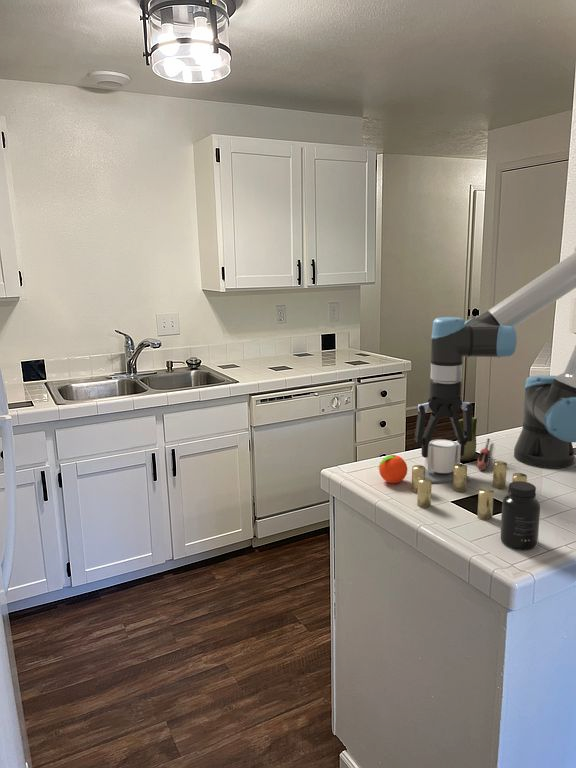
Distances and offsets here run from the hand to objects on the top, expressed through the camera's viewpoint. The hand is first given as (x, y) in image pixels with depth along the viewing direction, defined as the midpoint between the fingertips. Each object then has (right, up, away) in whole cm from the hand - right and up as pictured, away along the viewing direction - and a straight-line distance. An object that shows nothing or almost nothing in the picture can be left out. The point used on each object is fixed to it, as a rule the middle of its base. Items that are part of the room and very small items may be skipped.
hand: (442, 468), depth 148 cm
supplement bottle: (+6, -10, -34) cm, 36 cm away
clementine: (-14, -3, -3) cm, 14 cm away
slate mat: (0, -2, 0) cm, 2 cm away
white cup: (0, 0, 0) cm, 1 cm away
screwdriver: (+16, +1, +13) cm, 20 cm away
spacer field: (+2, -6, -16) cm, 17 cm away
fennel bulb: (+9, 0, +11) cm, 14 cm away
